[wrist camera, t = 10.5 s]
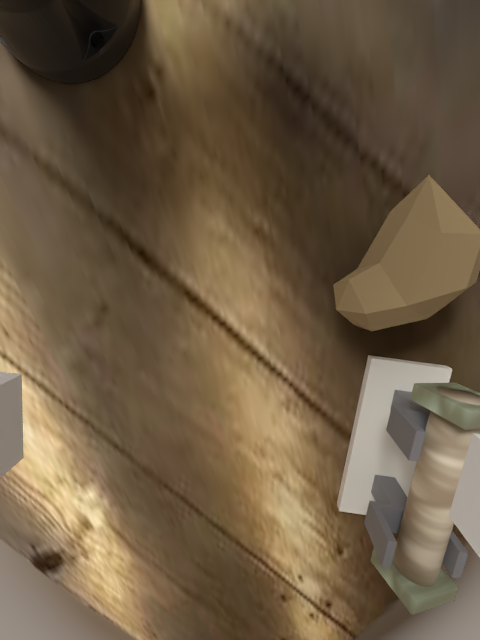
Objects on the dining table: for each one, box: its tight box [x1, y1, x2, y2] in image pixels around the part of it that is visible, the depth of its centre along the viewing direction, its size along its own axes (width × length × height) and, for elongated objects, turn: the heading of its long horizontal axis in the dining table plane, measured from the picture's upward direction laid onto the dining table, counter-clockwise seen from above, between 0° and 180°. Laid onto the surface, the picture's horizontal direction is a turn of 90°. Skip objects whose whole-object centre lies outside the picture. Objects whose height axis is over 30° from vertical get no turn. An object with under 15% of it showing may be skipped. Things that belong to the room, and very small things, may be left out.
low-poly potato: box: [333, 175, 480, 331], centre depth 31 cm, size 15×11×12 cm
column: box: [371, 382, 480, 615], centre depth 31 cm, size 20×5×5 cm, turn 173°
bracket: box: [337, 355, 468, 578], centre depth 34 cm, size 20×9×11 cm, turn 173°
